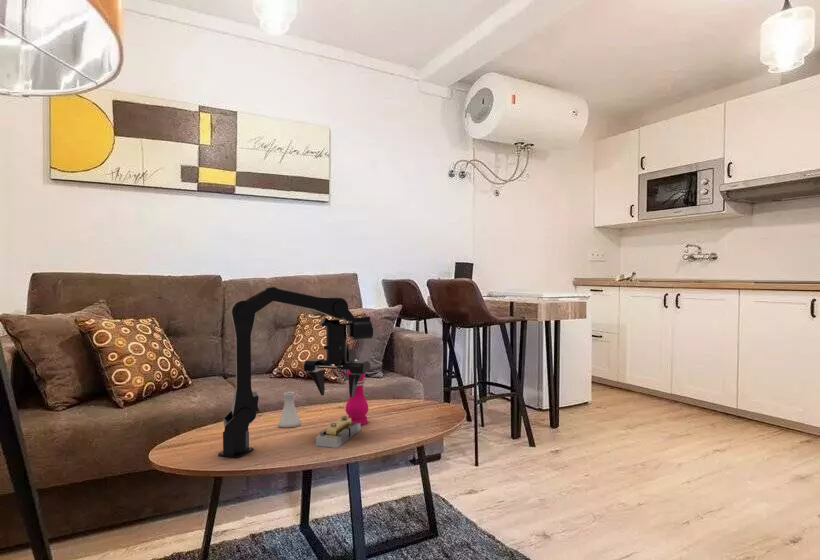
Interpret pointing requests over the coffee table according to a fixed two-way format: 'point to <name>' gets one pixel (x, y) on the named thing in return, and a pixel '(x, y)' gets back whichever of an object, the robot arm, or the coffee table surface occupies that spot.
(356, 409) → the pepper mill
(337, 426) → the link bar
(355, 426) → the grey metal base
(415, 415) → the coffee table surface
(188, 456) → the coffee table surface
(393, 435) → the coffee table surface
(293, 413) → the flask
